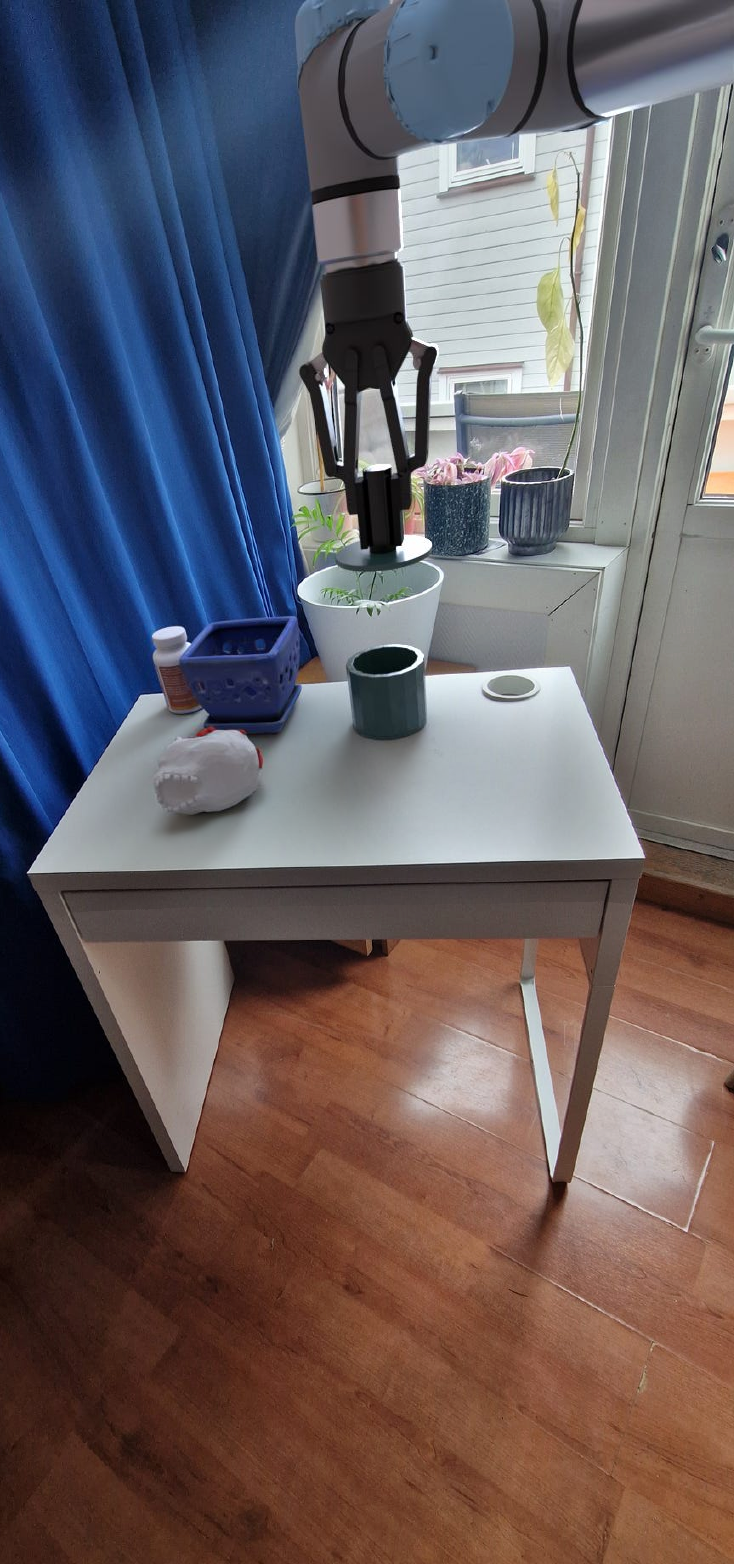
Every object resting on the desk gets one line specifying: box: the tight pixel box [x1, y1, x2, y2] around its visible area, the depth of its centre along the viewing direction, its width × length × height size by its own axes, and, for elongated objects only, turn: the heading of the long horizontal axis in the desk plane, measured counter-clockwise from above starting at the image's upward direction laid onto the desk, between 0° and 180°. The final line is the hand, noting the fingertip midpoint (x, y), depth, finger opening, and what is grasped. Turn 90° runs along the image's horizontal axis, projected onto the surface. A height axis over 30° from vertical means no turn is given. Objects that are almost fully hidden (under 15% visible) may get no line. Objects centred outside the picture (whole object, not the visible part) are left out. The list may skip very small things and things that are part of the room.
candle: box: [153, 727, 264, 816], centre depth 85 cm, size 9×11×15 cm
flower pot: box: [179, 615, 303, 734], centre depth 98 cm, size 13×13×12 cm
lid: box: [334, 463, 433, 573], centre depth 78 cm, size 11×11×9 cm
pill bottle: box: [151, 625, 203, 715], centre depth 105 cm, size 6×6×11 cm
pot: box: [345, 643, 428, 741], centre depth 93 cm, size 10×10×8 cm
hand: (382, 543), depth 79 cm, fingers closed on lid, 3 cm apart
